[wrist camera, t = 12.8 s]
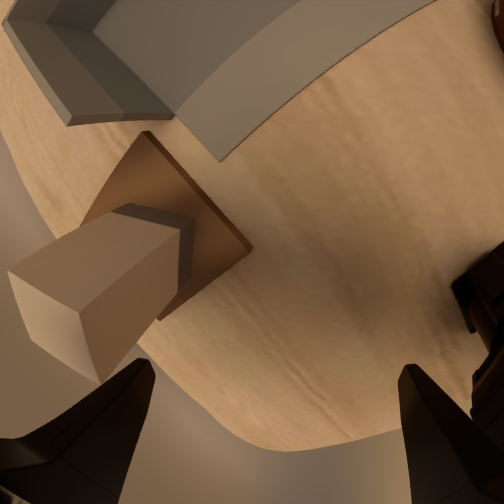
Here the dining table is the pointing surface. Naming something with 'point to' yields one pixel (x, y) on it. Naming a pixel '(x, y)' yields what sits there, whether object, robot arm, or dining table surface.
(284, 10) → the open gray box
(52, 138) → the dining table surface
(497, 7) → the food container
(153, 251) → the footed box
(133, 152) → the walnut board
